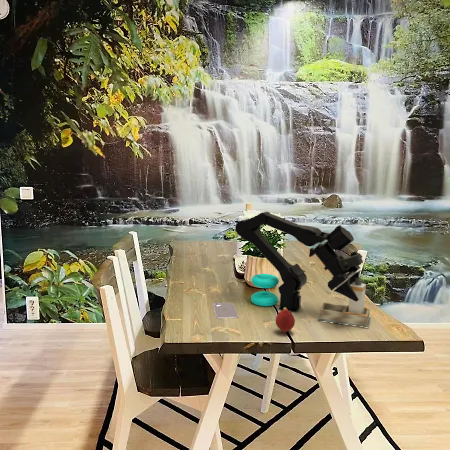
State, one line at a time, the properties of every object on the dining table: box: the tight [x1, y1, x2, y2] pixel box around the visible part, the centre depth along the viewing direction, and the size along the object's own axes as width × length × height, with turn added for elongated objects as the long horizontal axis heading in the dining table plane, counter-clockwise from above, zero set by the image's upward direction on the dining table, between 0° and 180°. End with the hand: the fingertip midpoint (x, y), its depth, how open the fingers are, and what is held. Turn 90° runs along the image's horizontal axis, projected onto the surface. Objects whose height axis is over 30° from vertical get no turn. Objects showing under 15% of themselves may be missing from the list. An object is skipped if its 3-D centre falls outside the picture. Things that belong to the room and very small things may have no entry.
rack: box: [317, 302, 371, 328], centre depth 151 cm, size 16×9×4 cm, turn 68°
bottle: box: [348, 277, 367, 314], centre depth 149 cm, size 4×4×14 cm
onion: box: [275, 308, 296, 334], centre depth 140 cm, size 6×6×8 cm
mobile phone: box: [212, 302, 239, 319], centre depth 158 cm, size 8×1×15 cm
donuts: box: [250, 273, 280, 307], centre depth 167 cm, size 10×10×10 cm
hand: (361, 296), depth 148 cm, fingers open, 9 cm apart
